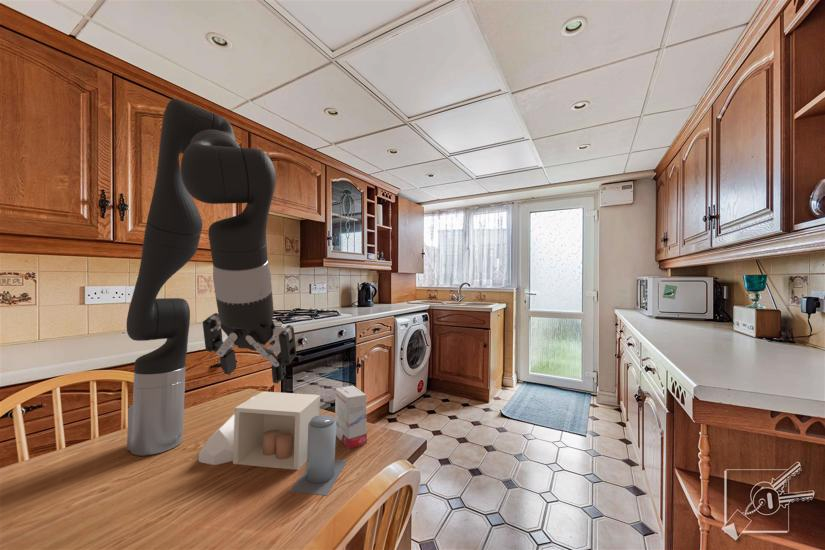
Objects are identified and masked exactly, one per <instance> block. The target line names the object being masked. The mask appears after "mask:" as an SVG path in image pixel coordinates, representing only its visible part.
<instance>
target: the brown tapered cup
mask: <svg viewBox="0 0 825 550" xmlns="http://www.w3.org/2000/svg"><path fill="white" fill-rule="evenodd" d="M279 434H280V431H279V430H269V431H266V432H265V433H264V437H263V454H264V455H273V454H276V437H277V436H278V435H279Z"/></svg>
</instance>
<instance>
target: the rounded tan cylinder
mask: <svg viewBox="0 0 825 550" xmlns="http://www.w3.org/2000/svg"><path fill="white" fill-rule="evenodd" d="M291 455H292V434H291V433H282V434H279V435H278V436H277V437H276V458H277V459H286V458H289V457H290V456H291Z"/></svg>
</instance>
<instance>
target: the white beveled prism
mask: <svg viewBox="0 0 825 550" xmlns="http://www.w3.org/2000/svg"><path fill="white" fill-rule="evenodd" d="M253 397H254V396H251V397H250V398H249V399H251V398H253ZM234 416H235V412H234V413H233V414H232V415H231V416H230V417H229V418H228V419H227V420H226V421H225V422H223V424H222V425H221V426H220V427H219V428H218V429H217V430H216V431H215V432H214V433H212V434H211V436H209V438H208V439H207V440H206V441H205V443H204V444H203V446H202V448H201V449H200V451H199V453H198V462H199V463H203V464H207V465H211V466H217V465H221V464H225V463H230V462H233V445H234Z"/></svg>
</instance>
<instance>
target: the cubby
mask: <svg viewBox="0 0 825 550" xmlns="http://www.w3.org/2000/svg"><path fill="white" fill-rule="evenodd" d="M252 397H253V398H251V397H250V398H251V399H250V398H249V399H248V400H246V401H244V402H242V403H241V404H239V405H237V406H235V407H234V413H235V416H234V445H233V461H232V464H233V465H242V466H254V467H263V468H274V469H275V468H276V469H285V470H295V471H296V470H297V471H299V470H300V469H301V468H302V466H303V465H304V464H305V462H307V444H308V423H309V422H310V421H311V419H312V418H313V417H315V416H318V415H321V394H307V393H294V392H279V391H278V392H275V391H261V392H259V393H257V395H253V396H252ZM269 430H279V431H280V434H282V433H291V434H292V455H291V456H290V457H289V458H286V459H277V458H276V454H273V455H264V454H263V437H264V433H265V432H266V431H269Z"/></svg>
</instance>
